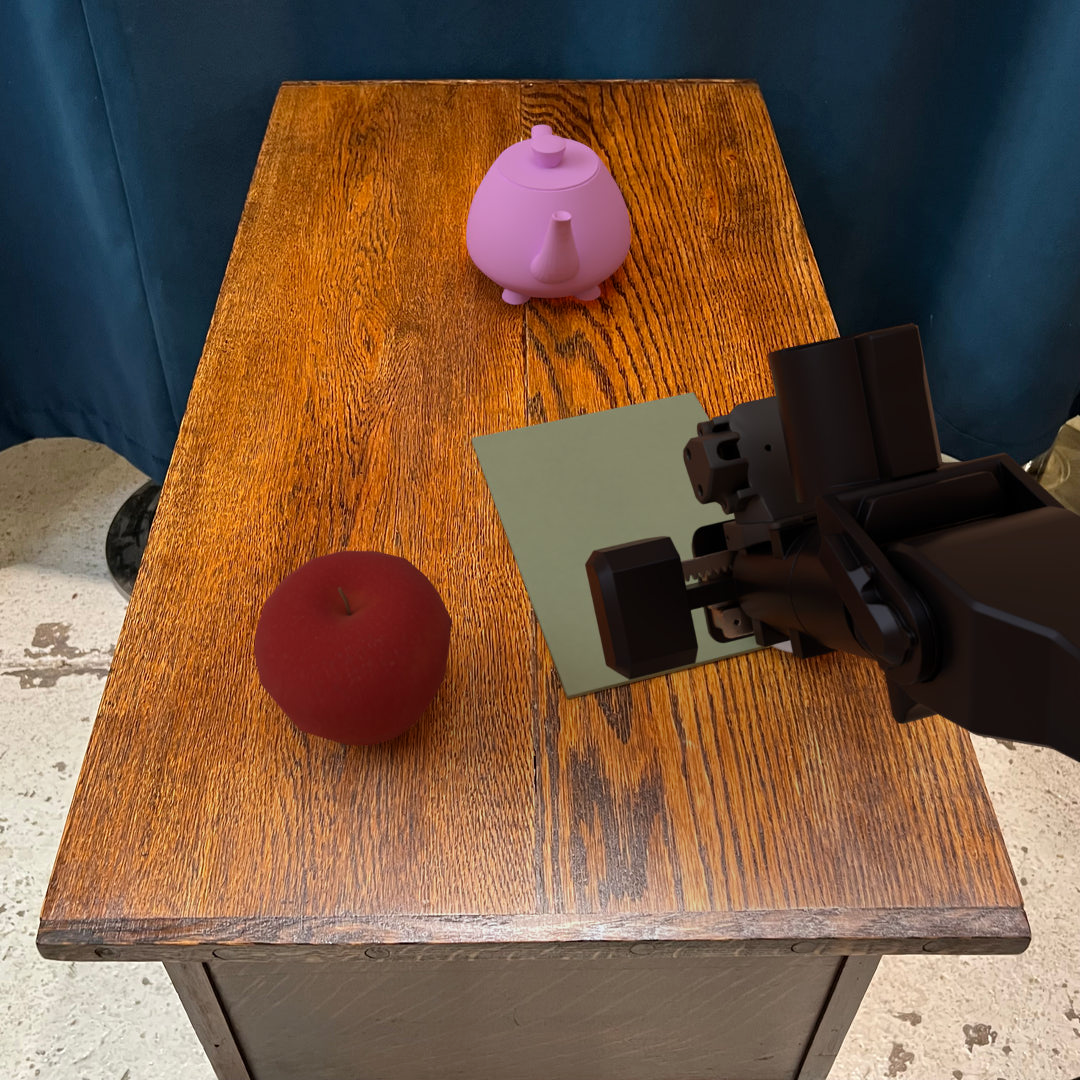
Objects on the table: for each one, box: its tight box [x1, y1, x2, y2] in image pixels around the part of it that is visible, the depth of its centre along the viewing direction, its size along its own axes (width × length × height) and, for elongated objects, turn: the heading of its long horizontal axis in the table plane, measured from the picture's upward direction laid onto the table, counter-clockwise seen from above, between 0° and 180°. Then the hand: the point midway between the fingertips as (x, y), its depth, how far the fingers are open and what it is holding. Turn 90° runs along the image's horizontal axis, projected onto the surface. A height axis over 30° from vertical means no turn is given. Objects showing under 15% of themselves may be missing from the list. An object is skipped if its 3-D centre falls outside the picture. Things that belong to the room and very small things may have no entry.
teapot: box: [465, 124, 632, 305], centre depth 90 cm, size 20×14×12 cm
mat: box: [470, 391, 774, 700], centre depth 75 cm, size 24×18×1 cm
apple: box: [253, 550, 453, 747], centre depth 61 cm, size 11×11×12 cm
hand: (719, 563), depth 61 cm, fingers closed
